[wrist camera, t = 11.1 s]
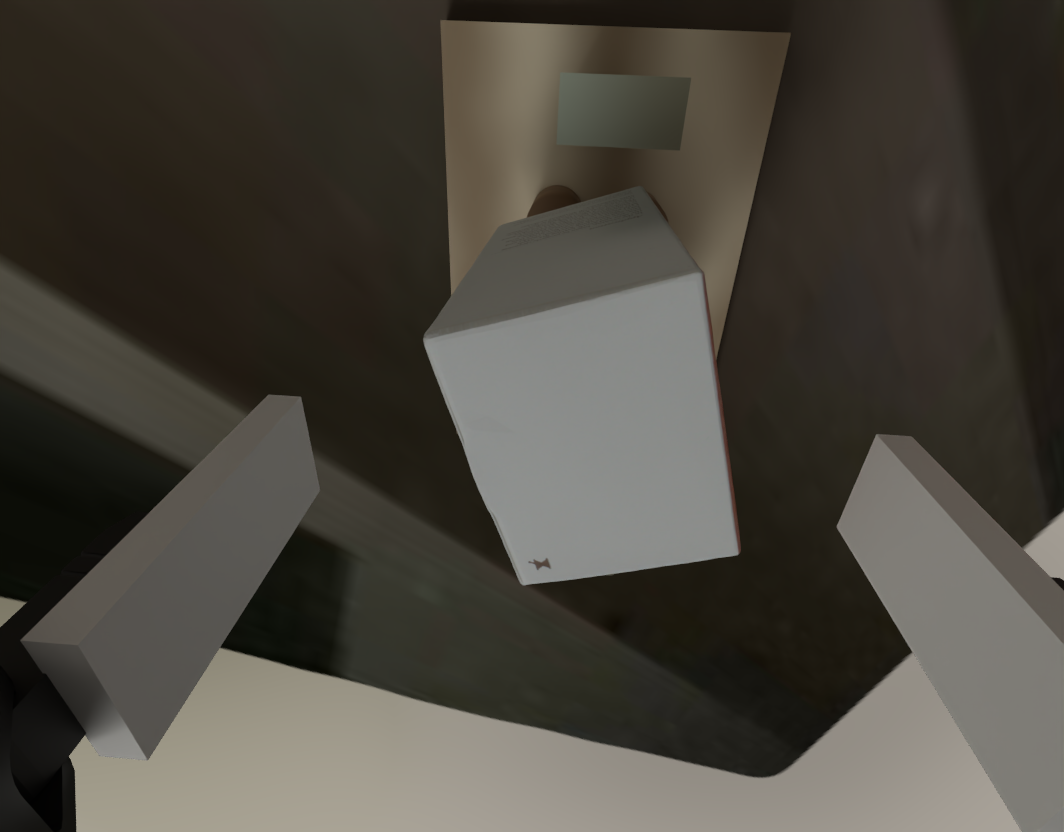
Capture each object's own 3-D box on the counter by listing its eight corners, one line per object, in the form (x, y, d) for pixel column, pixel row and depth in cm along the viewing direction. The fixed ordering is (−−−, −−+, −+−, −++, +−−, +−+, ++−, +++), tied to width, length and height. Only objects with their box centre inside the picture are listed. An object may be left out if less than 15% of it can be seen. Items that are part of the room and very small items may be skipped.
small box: (675, 358, 26) (746, 563, 14) (545, 386, 27) (517, 593, 16) (645, 178, 22) (707, 264, 11) (495, 221, 23) (411, 338, 12)
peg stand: (460, 425, 33) (396, 591, 22) (446, 23, 23) (314, -47, 12) (692, 442, 32) (747, 624, 21) (783, 35, 22) (981, -27, 11)
